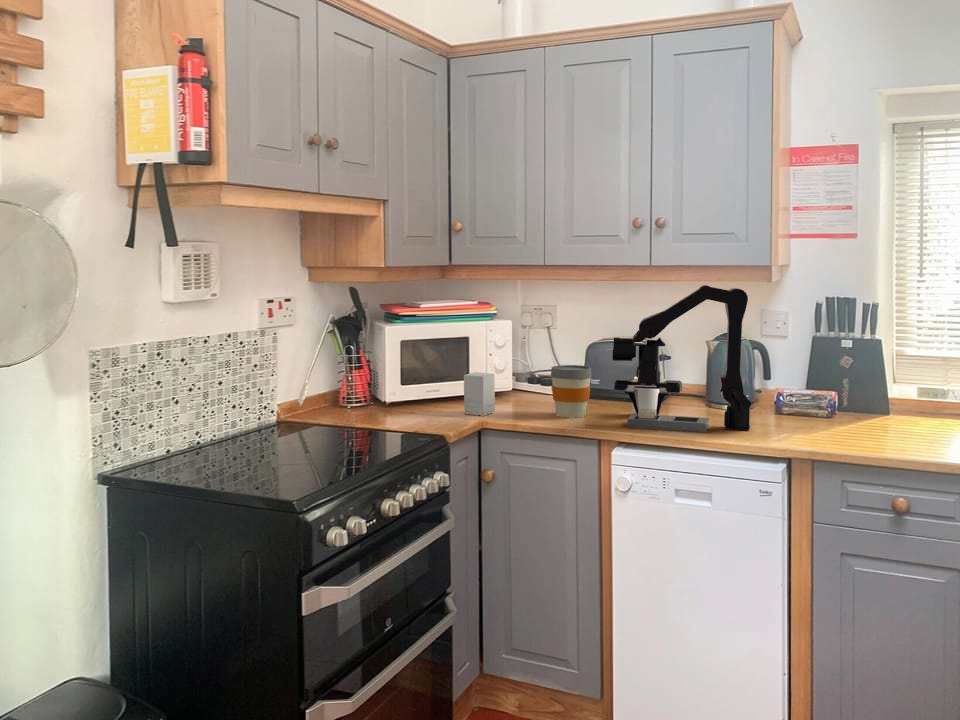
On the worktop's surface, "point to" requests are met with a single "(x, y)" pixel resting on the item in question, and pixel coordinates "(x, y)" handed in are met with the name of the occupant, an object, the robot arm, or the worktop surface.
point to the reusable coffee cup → (571, 389)
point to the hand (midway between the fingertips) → (647, 414)
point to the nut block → (647, 414)
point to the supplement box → (479, 393)
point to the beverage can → (646, 398)
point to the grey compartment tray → (670, 423)
